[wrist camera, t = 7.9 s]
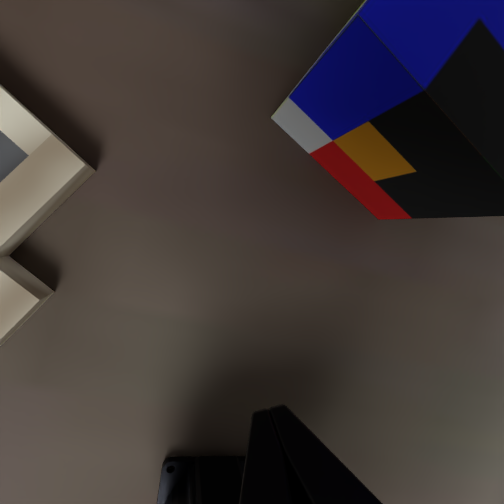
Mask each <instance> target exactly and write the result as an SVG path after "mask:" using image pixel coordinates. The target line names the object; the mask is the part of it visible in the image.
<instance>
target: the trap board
mask: <svg viewBox="0 0 504 504" xmlns="http://www.w3.org/2000/svg"><path fill="white" fill-rule="evenodd" d="M95 172H96V171H95V170H94V169H93V168H92V167H91V166H90V165H89V164H88V163H86V162H85V161H84V160H83V159H82V158H81V157H80V156H79V155H78V154H77V153H76V152H74V151H73V150H72V149H71V148H70V147H69V146H68V145H67V144H66V143H65V142H64V141H62V140H61V139H60V138H59V137H58V136H57V135H56V134H55V133H54V132H53V131H51V130H50V129H49V128H48V127H47V126H46V125H45V124H44V123H43V122H42V121H41V120H39V119H38V118H37V117H36V116H35V115H34V114H33V113H32V112H31V111H30V110H28V109H27V108H26V107H25V106H24V105H23V104H22V103H21V102H20V101H19V100H18V99H16V98H15V97H14V96H13V95H12V94H11V93H10V92H9V91H8V90H7V89H5V88H4V87H3V86H2V85H1V84H0V347H1V346H2V345H3V344H4V343H5V342H6V341H7V340H8V339H9V338H10V337H11V336H12V335H13V334H14V333H15V332H16V331H17V330H18V329H19V328H20V327H21V326H22V325H23V324H24V323H25V322H26V321H27V320H28V319H29V318H30V317H31V316H32V315H33V314H34V313H35V312H36V311H37V310H38V309H39V308H40V307H41V306H42V305H43V304H44V303H45V302H46V301H47V300H48V299H49V298H50V297H51V296H52V295H53V294H54V293H55V292H54V291H53V290H52V289H51V288H49V287H48V286H47V285H45V284H44V283H43V282H42V281H40V280H39V279H38V278H36V277H35V276H34V275H33V274H31V273H30V272H29V271H28V270H26V269H25V268H24V267H22V266H21V265H20V264H19V263H17V262H16V261H15V260H14V259H12V258H11V257H10V256H9V255H10V254H11V253H12V252H13V251H14V250H15V249H16V248H17V247H18V246H19V245H20V244H21V243H22V242H23V241H24V240H25V239H27V238H28V237H29V236H30V235H31V234H32V233H33V232H34V231H35V230H36V229H37V228H38V227H39V226H40V225H41V224H42V223H43V222H44V221H45V220H46V219H47V218H48V217H49V216H50V215H51V214H52V213H53V212H54V211H55V210H56V209H57V208H58V207H59V206H61V205H62V204H63V203H64V202H65V201H66V200H67V199H68V198H69V197H70V196H71V195H72V194H73V193H74V192H75V191H76V190H77V189H78V188H79V187H80V186H81V185H82V184H83V183H84V182H85V181H86V180H87V179H88V178H89V177H90V176H91V175H92V174H93V173H95Z"/></svg>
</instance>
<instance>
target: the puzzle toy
mask: <svg viewBox="0 0 504 504" xmlns="http://www.w3.org/2000/svg"><path fill="white" fill-rule="evenodd" d="M271 118H272V119H273V120H274V121H275V122H276V123H277V124H278V125H279V126H280V127H281V128H282V129H283V130H284V131H285V132H286V133H287V134H289V135H290V136H291V137H292V138H293V139H294V140H295V141H296V142H297V143H298V144H299V145H300V146H301V147H302V148H303V149H304V150H305V151H307V152H308V153H309V154H310V155H311V156H312V157H313V158H314V159H315V160H316V161H317V162H318V163H319V164H320V165H321V166H322V167H323V168H325V169H326V170H327V171H328V172H329V173H330V174H331V175H332V176H333V177H334V178H335V179H336V180H337V181H338V182H339V183H340V184H341V185H343V186H344V187H345V188H346V189H347V190H348V191H349V192H350V193H351V194H352V195H353V196H354V197H355V198H356V199H357V200H358V201H359V202H361V203H362V204H363V205H364V206H365V207H366V208H367V209H368V210H369V211H370V212H371V213H372V214H373V215H374V216H375V217H376V218H377V219H412V218H446V217H480V216H504V0H365V1H364V2H363V3H362V4H361V6H360V7H359V8H358V9H357V10H356V12H355V13H354V14H353V15H352V17H351V18H350V19H349V20H348V22H347V23H346V24H345V25H344V27H343V28H342V29H341V30H340V32H339V33H338V34H337V35H336V37H335V38H334V39H333V40H332V42H331V43H330V44H329V45H328V47H327V48H326V49H325V50H324V52H323V53H322V54H321V55H320V57H319V58H318V59H317V60H316V62H315V63H314V64H313V65H312V67H311V68H310V69H309V70H308V72H307V73H306V74H305V75H304V77H303V78H302V79H301V80H300V82H299V83H298V84H297V85H296V87H295V88H294V89H293V90H292V92H291V93H290V94H289V95H288V97H287V98H286V99H285V100H284V102H283V103H282V104H281V105H280V107H279V108H278V109H277V110H276V111H275V113H274V114H273V115H272V116H271Z"/></svg>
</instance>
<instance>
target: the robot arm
mask: <svg viewBox="0 0 504 504" xmlns="http://www.w3.org/2000/svg"><path fill="white" fill-rule="evenodd" d="M168 466H174V467H173V468H171V469H170V468H167V467H168ZM157 504H382V503H381V502H380V501H379V500H378V499H377V498H376V497H375V496H374V495H373V494H372V493H371V492H370V491H369V490H368V489H367V487H366V486H365V485H364V484H363V483H362V482H361V481H360V480H359V479H358V478H357V477H356V476H355V475H354V474H353V473H352V472H351V471H350V470H349V469H348V468H347V467H346V466H345V465H344V464H343V463H342V462H341V461H340V460H339V459H338V458H337V457H336V456H335V455H334V454H333V453H332V452H331V451H330V450H329V449H328V448H327V447H326V446H325V445H324V444H323V443H322V442H321V441H320V440H319V439H318V438H317V437H316V436H315V435H314V434H313V433H312V432H311V431H310V430H309V429H308V428H307V427H306V426H305V425H304V424H303V423H302V422H301V421H300V420H299V418H298V417H297V416H296V415H295V414H294V413H293V412H292V411H291V410H290V409H289V408H288V407H287V406H285V405H283V404H282V405H278V406H274V407H271V408H270V409H269V410H268V409H262V410H258V411H255V412H253V414H252V418H251V425H250V432H249V439H248V446H247V453H246V456H243V457H236V456H200V457H170V458H167V459H166V460H165V461H164V462H163V465H162V472H161V478H160V485H159V492H158V499H157Z"/></svg>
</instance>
